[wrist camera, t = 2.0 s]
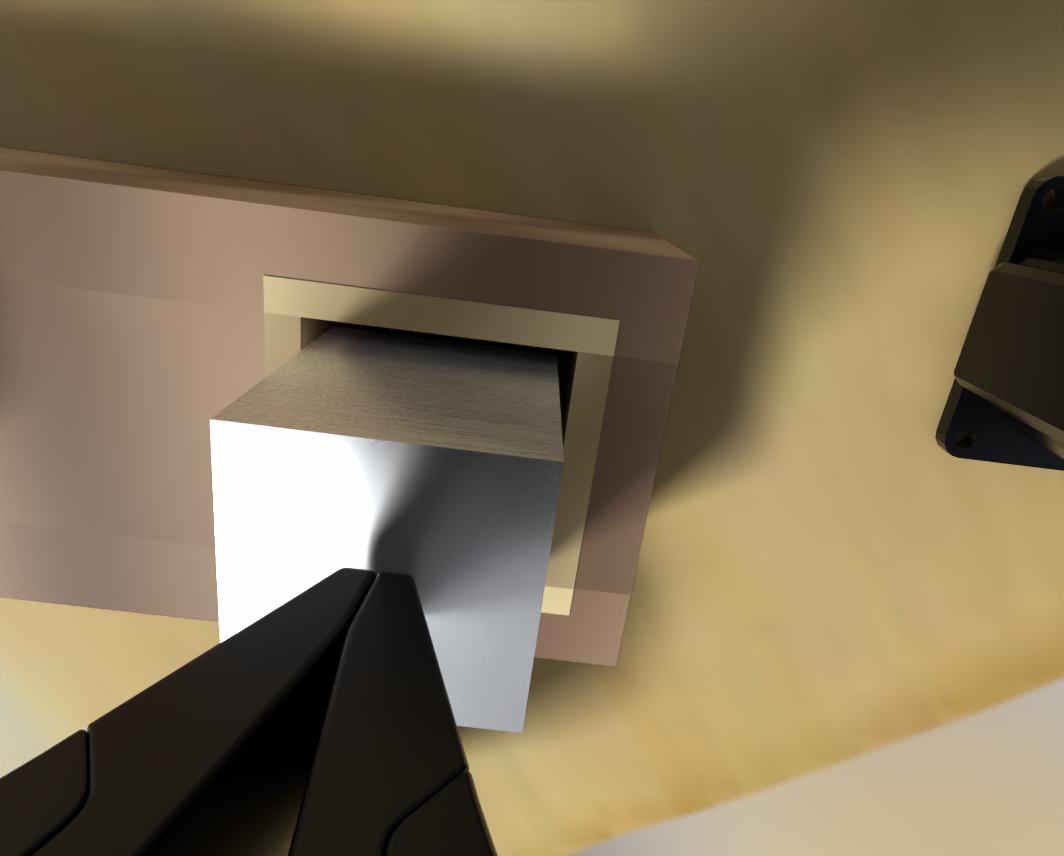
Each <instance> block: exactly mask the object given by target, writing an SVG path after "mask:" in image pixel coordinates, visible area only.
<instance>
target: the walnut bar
mask: <svg viewBox="0 0 1064 856" xmlns="http://www.w3.org/2000/svg"><path fill="white" fill-rule="evenodd" d="M699 263H700V261H699V260H697V259H696V258H694V257H693V256H691V255H689V254H688V253H686V252H684V251H683V250H681V249H679V248H678V247H676V246H674V245H673V244H671V243H669V242H668V241H666V240H665V239H663V238H661V237H660V236H658V235H656V234H655V233H652V232H645V231H637V230H630V229H622V228H614V227H607V226H599V225H591V224H584V223H576V222H568V221H561V220H553V219H545V218H538V217H530V216H522V215H515V214H507V213H500V212H492V211H484V210H477V209H469V208H461V207H454V206H446V205H438V204H431V203H423V202H415V201H408V200H400V199H392V198H385V197H377V196H370V195H362V194H354V193H347V192H339V191H331V190H324V189H316V188H308V187H301V186H293V185H285V184H278V183H270V182H263V181H255V180H247V179H240V178H232V177H224V176H217V175H209V174H201V173H194V172H186V171H178V170H171V169H163V168H155V167H148V166H140V165H133V164H125V163H117V162H110V161H102V160H94V159H87V158H79V157H71V156H64V155H56V154H48V153H41V152H33V151H25V150H18V149H10V148H3V147H0V597H1V598H10V599H19V600H28V601H37V602H46V603H55V604H63V605H72V606H81V607H90V608H99V609H108V610H117V611H126V612H135V613H144V614H153V615H161V616H170V617H179V618H188V619H197V620H206V621H215V622H219V606H218V584H217V563H216V541H215V520H214V498H213V476H212V455H211V433H210V419H211V418H212V417H214V416H215V415H216V414H218V413H219V412H220V411H222V410H223V409H224V408H225V407H227V406H228V405H229V404H231V403H232V402H233V401H235V400H236V399H237V398H239V397H240V396H241V395H243V394H244V393H245V392H247V391H248V390H249V389H251V388H252V387H253V386H255V385H256V384H257V383H259V382H260V381H261V380H263V379H264V378H265V377H266V376H268V375H269V374H270V373H272V372H273V371H274V370H276V369H277V368H278V367H280V366H281V365H282V364H284V363H285V362H286V361H288V360H289V359H290V358H292V357H293V356H294V355H296V354H297V353H298V352H300V351H301V350H302V349H303V348H305V347H306V346H307V345H309V344H310V343H311V342H313V341H314V340H315V339H317V338H318V337H319V336H321V335H322V334H323V333H325V332H326V331H327V330H329V329H330V328H331V327H333V326H336V327H344V328H352V329H360V330H368V331H370V326H377V327H385V328H393V329H401V330H408V331H416V332H424V333H432V334H440V335H448V336H456V337H464V338H472V339H480V340H488V341H496V342H504V343H512V344H520V345H528V346H536V347H544V348H552V349H560V350H561V351H560V358H559V365H558V380H559V395H560V410H561V425H562V440H563V455H564V465H563V472H562V478H561V485H560V491H559V498H558V504H557V511H556V517H555V524H554V530H553V537H552V543H551V550H550V556H549V563H548V569H547V576H546V582H545V589H544V595H543V602H542V608H541V615H540V621H539V628H538V634H537V641H536V647H535V654H534V657H535V658H544V659H553V660H562V661H571V662H580V663H589V664H598V665H606V666H615V667H616V663H617V658H618V654H619V649H620V644H621V639H622V634H623V629H624V625H625V620H626V615H627V610H628V605H629V600H630V596H631V591H632V586H633V581H634V576H635V572H636V567H637V562H638V557H639V552H640V547H641V543H642V538H643V533H644V528H645V523H646V518H647V514H648V509H649V504H650V499H651V494H652V490H653V485H654V480H655V475H656V470H657V465H658V461H659V456H660V451H661V446H662V441H663V436H664V432H665V427H666V422H667V417H668V412H669V407H670V403H671V398H672V393H673V388H674V383H675V379H676V374H677V369H678V364H679V359H680V354H681V350H682V345H683V340H684V335H685V330H686V325H687V321H688V316H689V311H690V306H691V301H692V296H693V292H694V287H695V282H696V277H697V272H698V268H699Z"/></svg>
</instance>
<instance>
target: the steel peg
mask: <svg viewBox="0 0 1064 856" xmlns="http://www.w3.org/2000/svg"><path fill="white" fill-rule="evenodd" d="M210 433H211V455H212V476H213V498H214V520H215V541H216V563H217V584H218V606H219V627H220V643H221V642H223V641H224V640H226V639H227V638H229V637H231V636H232V635H234V634H235V633H237V632H239V631H240V630H242V629H244V628H245V627H247V626H248V625H250V624H252V623H253V622H255V621H256V620H258V619H260V618H261V617H263V616H264V615H266V614H268V613H269V612H271V611H272V610H274V609H276V608H277V607H279V606H281V605H282V604H284V603H285V602H287V601H289V600H290V599H292V598H293V597H295V596H297V595H298V594H300V593H301V592H303V591H305V590H306V589H308V588H310V587H311V586H313V585H314V584H316V583H318V582H319V581H321V580H322V579H324V578H326V577H327V576H329V575H330V574H332V573H334V572H335V571H337V570H339V569H341V568H344V567H348V568H356V569H365V570H372V571H374V572H375V573H376V575H378V574H379V573H380V572H391V573H400V574H409V575H411V576H412V577H413V578H414V581H415V584H416V587H417V591H418V594H419V598H420V601H421V605H422V608H423V611H424V615H425V618H426V622H427V625H428V629H429V632H430V635H431V639H432V642H433V646H434V649H435V653H436V656H437V659H438V663H439V666H440V670H441V673H442V677H443V680H444V683H445V687H446V690H447V694H448V697H449V701H450V704H451V707H452V711H453V714H454V718H455V721H456V725H457V726H463V727H472V728H482V729H491V730H500V731H509V732H518V733H522V732H523V726H524V719H525V713H526V706H527V700H528V693H529V686H530V680H531V673H532V667H533V660H534V654H535V647H536V641H537V634H538V628H539V621H540V615H541V608H542V602H543V595H544V589H545V582H546V576H547V569H548V563H549V556H550V550H551V543H552V537H553V530H554V524H555V517H556V511H557V504H558V498H559V491H560V485H561V478H562V472H563V465H564V455H563V440H562V425H561V410H560V395H559V380H558V365H557V354H551V353H543V352H535V351H527V350H519V349H511V348H503V347H495V346H487V345H479V344H471V343H463V342H455V341H447V340H439V339H431V338H424V337H416V336H408V335H400V334H392V333H384V332H376V331H368V330H360V329H352V328H344V327H336V326H333V327H331V328H330V329H329V330H327V331H326V332H325V333H323V334H322V335H321V336H319V337H318V338H317V339H315V340H314V341H313V342H311V343H310V344H309V345H307V346H306V347H305V348H303V349H302V350H301V351H300V352H298V353H297V354H296V355H294V356H293V357H292V358H290V359H289V360H288V361H286V362H285V363H284V364H282V365H281V366H280V367H278V368H277V369H276V370H274V371H273V372H272V373H270V374H269V375H268V376H266V377H265V378H264V379H263V380H261V381H260V382H259V383H257V384H256V385H255V386H253V387H252V388H251V389H249V390H248V391H247V392H245V393H244V394H243V395H241V396H240V397H239V398H237V399H236V400H235V401H233V402H232V403H231V404H229V405H228V406H227V407H225V408H224V409H223V410H222V411H220V412H219V413H218V414H216V415H215V416H214V417H212V418H211V419H210Z"/></svg>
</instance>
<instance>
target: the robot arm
mask: <svg viewBox="0 0 1064 856" xmlns="http://www.w3.org/2000/svg"><path fill="white" fill-rule="evenodd" d="M1051 190H1053V192H1054V194H1055V200H1054V203H1053V204H1052V206H1051V207H1050V208H1049V209H1047V210H1046V211H1045V209H1044V207H1043V200H1044V198H1045V196H1046V195H1047V193H1048V192H1050V191H1051ZM954 375H955V377H956V378H955V380H954V383H953V386H952V389H951V392H950V394H949V397H948V400H947V403H946V406H945V408H944V411H943V414H942V417H941V419H940V422H939V425H938V428H937V431H936V441H937V444H938V445H939V446H940V447H941V448H942V449H943V450H945V451H946V452H947V453H949V454H950V455H952V456H955V457H958V458H965V459H973V460H981V461H989V462H997V463H1006V464H1014V465H1022V466H1030V467H1038V468H1046V469H1054V470H1062V471H1064V176H1042V177H1040V178H1038V179H1035V180H1033V181H1032V182H1031V183H1030V184H1029V185H1028V186H1027V187H1026V188H1025V190H1024V191H1023V193H1022V195H1021V197H1020V199H1019V202H1018V205H1017V208H1016V211H1015V213H1014V216H1013V219H1012V222H1011V224H1010V227H1009V230H1008V233H1007V236H1006V238H1005V241H1004V244H1003V247H1002V250H1001V252H1000V255H999V258H998V261H997V263H996V266H995V268H994V269H993V270H992V271H991V272H990V273H989V275H988V278H987V281H986V284H985V286H984V289H983V292H982V295H981V298H980V300H979V303H978V306H977V309H976V312H975V314H974V317H973V320H972V323H971V326H970V328H969V331H968V334H967V337H966V340H965V342H964V345H963V348H962V351H961V354H960V356H959V359H958V362H957V365H956V368H955V370H954ZM964 429H967V434H966V436H965V437H964V439H962V440H961V441H959V442H955V437H956V436H957V434H958V433H959V432H960V431H962V430H964ZM0 856H498V855H497V852H496V850H495V847H494V844H493V841H492V838H491V835H490V832H489V829H488V826H487V823H486V820H485V817H484V814H483V811H482V808H481V805H480V802H479V798H478V795H477V792H476V788H475V785H474V781H473V778H472V775H471V773H470V772H469V766H468V762H467V759H466V755H465V752H464V749H463V745H462V742H461V738H460V735H459V731H458V728H457V725H456V721H455V718H454V714H453V711H452V707H451V704H450V701H449V697H448V694H447V690H446V687H445V683H444V680H443V677H442V673H441V670H440V666H439V663H438V659H437V656H436V653H435V649H434V646H433V642H432V639H431V635H430V632H429V629H428V625H427V622H426V618H425V615H424V611H423V608H422V605H421V601H420V598H419V594H418V591H417V587H416V584H415V581H414V578H413V577H412V576H411V575H409V574H400V573H391V572H380V573H379V574H378V575H376V573H375V572H374V571H372V570H365V569H356V568H348V567H344V568H341V569H339V570H337V571H335V572H334V573H332V574H330V575H329V576H327V577H326V578H324V579H322V580H321V581H319V582H318V583H316V584H314V585H313V586H311V587H310V588H308V589H306V590H305V591H303V592H301V593H300V594H298V595H297V596H295V597H293V598H292V599H290V600H289V601H287V602H285V603H284V604H282V605H281V606H279V607H277V608H276V609H274V610H272V611H271V612H269V613H268V614H266V615H264V616H263V617H261V618H260V619H258V620H256V621H255V622H253V623H252V624H250V625H248V626H247V627H245V628H244V629H242V630H240V631H239V632H237V633H235V634H234V635H232V636H231V637H229V638H227V639H226V640H224V641H223V642H221V643H219V644H218V645H216V646H215V647H213V648H211V649H210V650H208V651H206V652H205V653H203V654H202V655H200V656H198V657H197V658H195V659H194V660H192V661H190V662H189V663H187V664H186V665H184V666H182V667H181V668H179V669H178V670H176V671H174V672H173V673H171V674H169V675H168V676H166V677H165V678H163V679H161V680H160V681H158V682H157V683H155V684H153V685H152V686H150V687H149V688H147V689H145V690H144V691H142V692H140V693H139V694H137V695H136V696H134V697H132V698H131V699H129V700H128V701H126V702H124V703H123V704H121V705H120V706H118V707H116V708H115V709H113V710H111V711H110V712H108V713H107V714H105V715H103V716H102V717H100V718H99V719H97V720H95V721H94V722H92V723H91V724H89V726H88V728H87V732H86V731H85V730H79V731H77V732H76V733H74V734H72V735H71V736H69V737H67V738H66V739H64V740H63V741H61V742H59V743H58V744H56V745H55V746H53V747H51V748H50V749H48V750H47V751H45V752H43V753H42V754H40V755H38V756H37V757H35V758H33V759H32V760H30V761H28V762H27V763H25V764H23V765H22V766H20V767H18V768H17V769H15V770H13V771H12V772H10V773H8V774H6V775H5V776H3V777H1V778H0Z"/></svg>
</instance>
